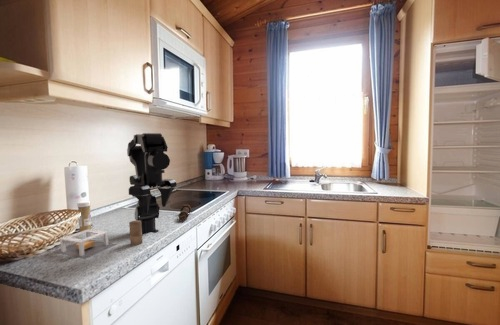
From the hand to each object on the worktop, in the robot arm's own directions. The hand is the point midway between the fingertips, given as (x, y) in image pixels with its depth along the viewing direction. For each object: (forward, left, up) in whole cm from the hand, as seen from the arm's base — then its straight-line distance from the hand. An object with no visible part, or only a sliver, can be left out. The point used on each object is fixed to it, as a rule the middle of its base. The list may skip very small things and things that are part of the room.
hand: (155, 209), depth 92 cm
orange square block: (+13, -20, -12) cm, 27 cm away
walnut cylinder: (+4, -6, -13) cm, 15 cm away
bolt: (-31, -10, -14) cm, 36 cm away
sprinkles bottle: (0, -38, -13) cm, 40 cm away
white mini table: (+13, -20, -13) cm, 27 cm away
